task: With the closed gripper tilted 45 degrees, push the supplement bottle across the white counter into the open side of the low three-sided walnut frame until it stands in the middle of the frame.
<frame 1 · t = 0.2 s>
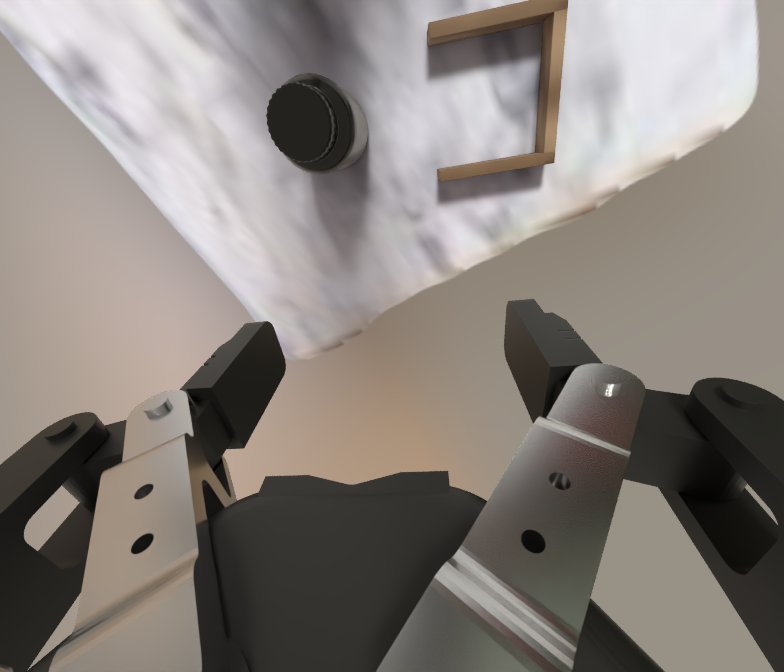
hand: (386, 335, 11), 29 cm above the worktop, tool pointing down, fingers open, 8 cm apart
supplement bottle: (335, 131, 33), on the worktop
walnut frame: (485, 102, 31), on the worktop
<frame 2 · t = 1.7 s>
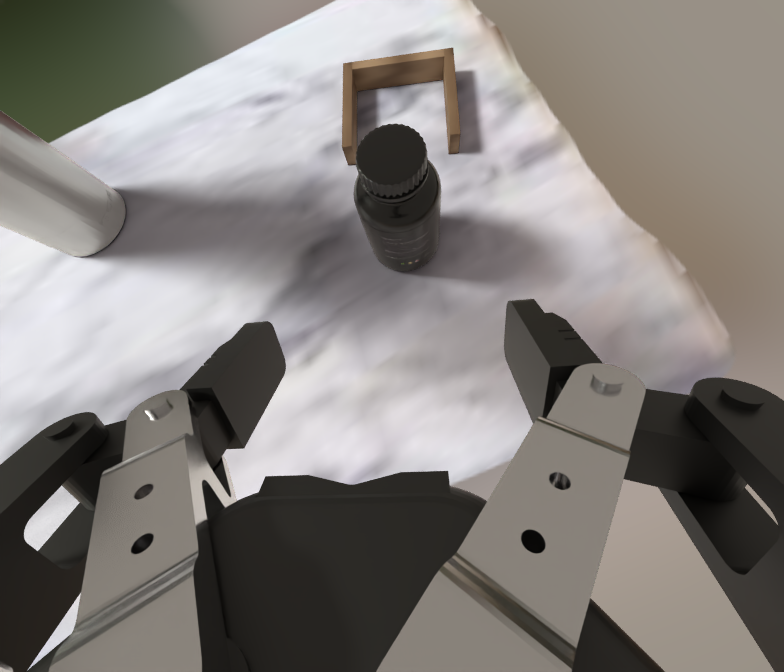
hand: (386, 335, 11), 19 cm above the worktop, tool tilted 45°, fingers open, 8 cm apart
supplement bottle: (405, 243, 33), on the worktop
walnut frame: (400, 121, 36), on the worktop
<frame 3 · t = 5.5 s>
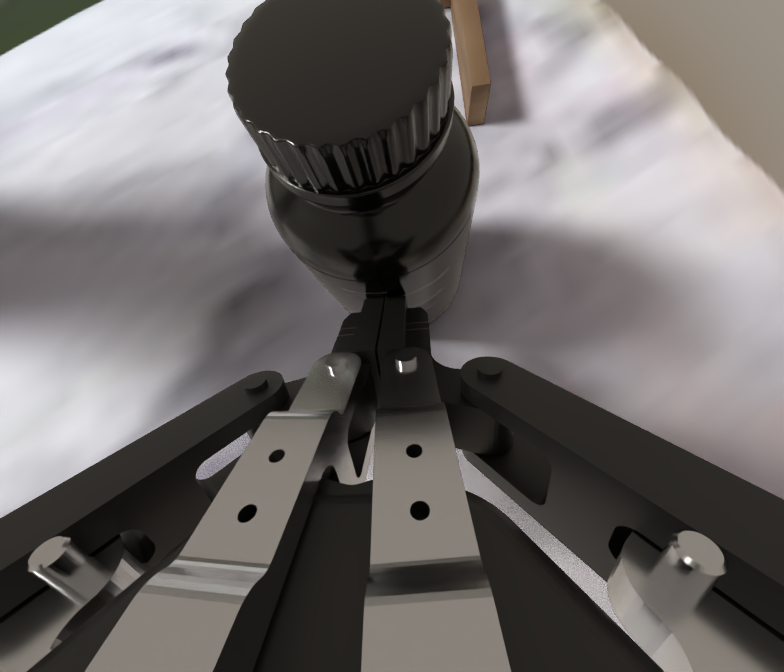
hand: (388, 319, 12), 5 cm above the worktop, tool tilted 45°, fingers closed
supplement bottle: (398, 279, 18), on the worktop, touching gripper
walnut frame: (382, 76, 21), on the worktop
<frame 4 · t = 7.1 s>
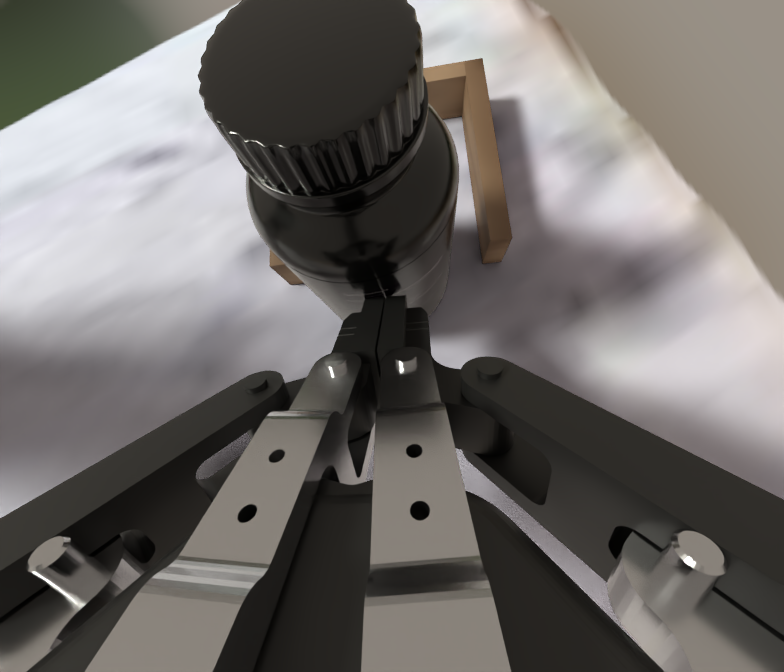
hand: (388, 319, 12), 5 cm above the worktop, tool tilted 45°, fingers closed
supplement bottle: (386, 281, 18), on the worktop, touching gripper
walnut frame: (387, 196, 19), on the worktop
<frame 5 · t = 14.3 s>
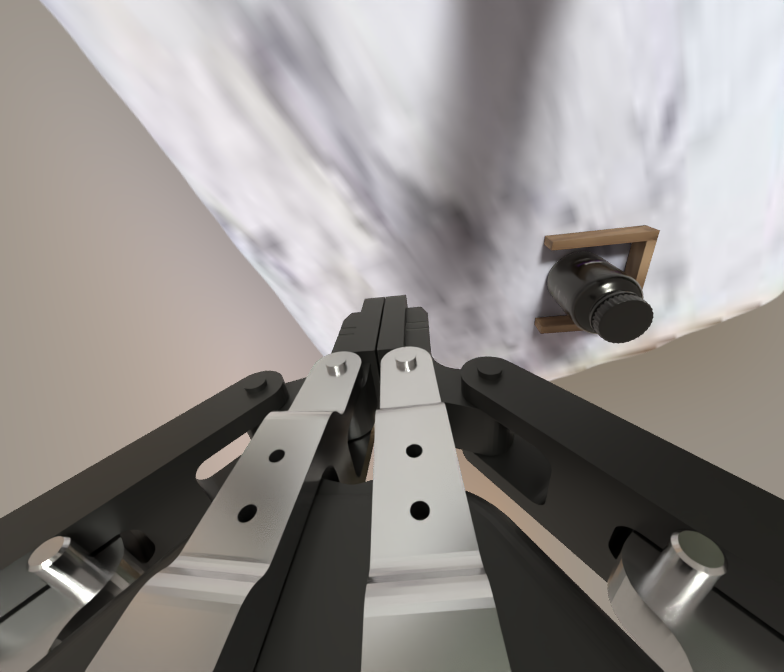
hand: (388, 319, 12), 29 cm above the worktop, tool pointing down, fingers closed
supplement bottle: (572, 276, 41), on the worktop
walnut frame: (580, 279, 41), on the worktop
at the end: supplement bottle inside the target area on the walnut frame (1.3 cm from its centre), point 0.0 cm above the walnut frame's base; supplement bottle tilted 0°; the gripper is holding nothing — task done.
